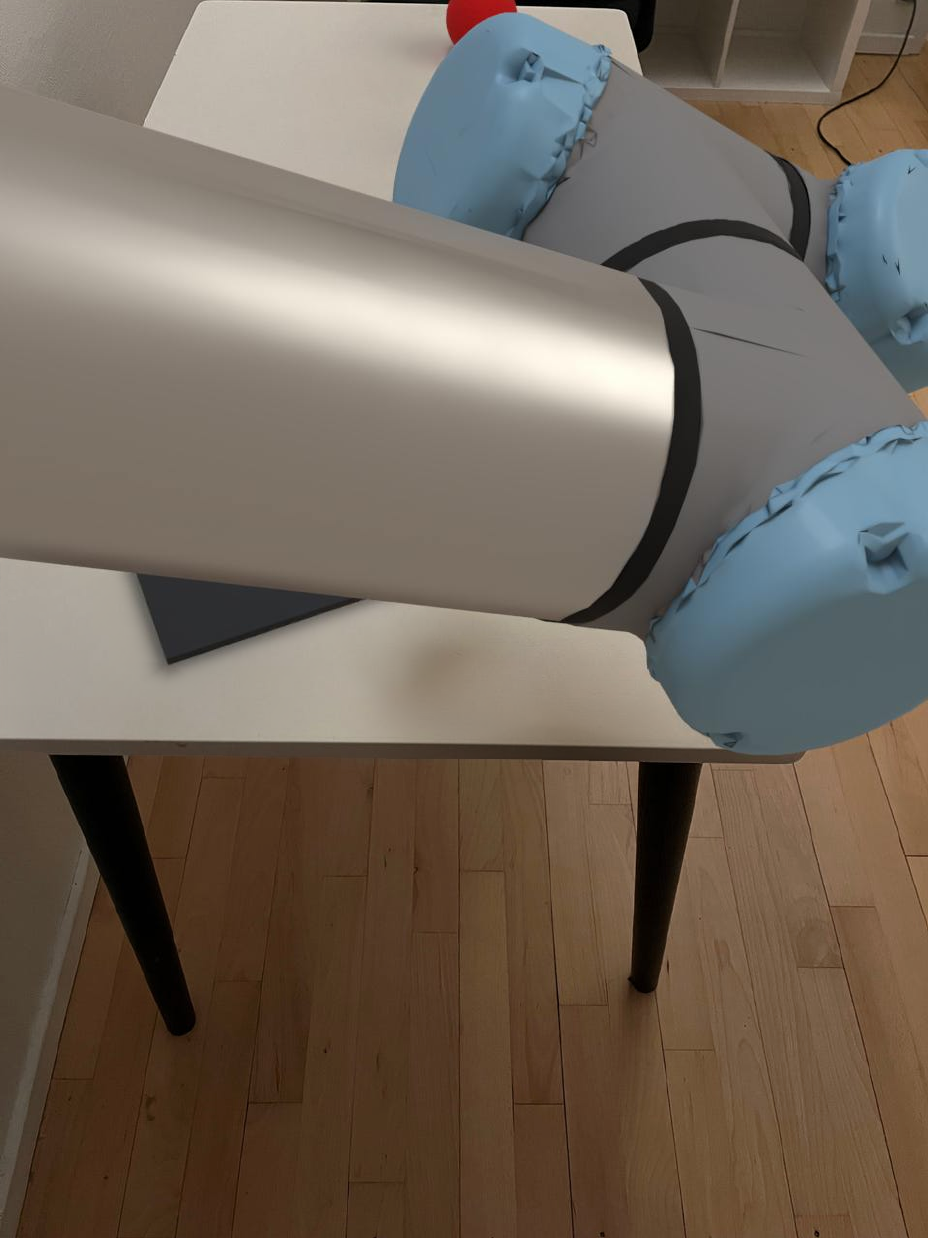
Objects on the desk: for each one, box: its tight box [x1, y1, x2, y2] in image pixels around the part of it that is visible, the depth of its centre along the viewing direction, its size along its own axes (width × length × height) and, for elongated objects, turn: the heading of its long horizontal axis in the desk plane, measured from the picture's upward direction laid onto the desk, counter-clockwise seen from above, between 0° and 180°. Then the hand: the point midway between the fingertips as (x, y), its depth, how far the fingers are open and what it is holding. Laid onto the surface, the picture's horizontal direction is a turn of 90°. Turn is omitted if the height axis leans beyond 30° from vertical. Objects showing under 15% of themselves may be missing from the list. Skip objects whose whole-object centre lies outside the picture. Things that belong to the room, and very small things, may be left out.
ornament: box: [445, 0, 518, 46], centre depth 132 cm, size 9×9×10 cm
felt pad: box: [136, 573, 362, 664], centre depth 82 cm, size 20×20×1 cm
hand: (376, 488), depth 65 cm, fingers closed on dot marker, 4 cm apart
